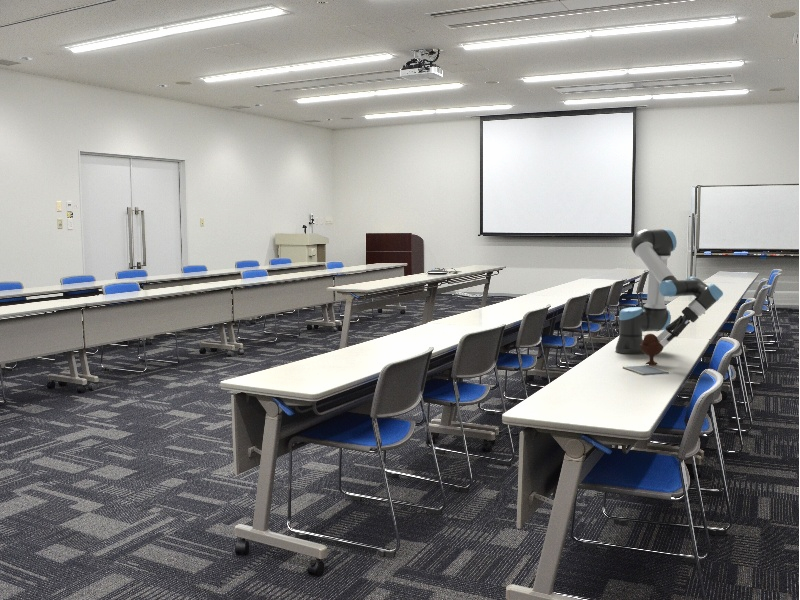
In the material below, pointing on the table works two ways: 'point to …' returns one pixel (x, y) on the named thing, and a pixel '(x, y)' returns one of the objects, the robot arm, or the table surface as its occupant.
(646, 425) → the table surface
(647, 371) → the rubber sheet
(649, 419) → the table surface
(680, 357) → the table surface
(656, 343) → the ice cream bowl
